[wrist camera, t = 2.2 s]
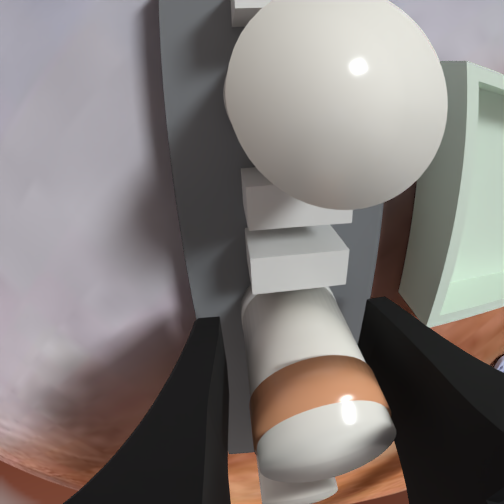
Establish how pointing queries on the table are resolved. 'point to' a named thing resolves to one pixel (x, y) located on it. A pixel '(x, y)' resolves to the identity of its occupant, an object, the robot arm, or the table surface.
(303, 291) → the cylinder
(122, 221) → the table surface
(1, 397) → the table surface
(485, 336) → the table surface
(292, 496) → the cylinder
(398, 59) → the white glossy rounded part
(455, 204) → the tray
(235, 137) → the fuse board
